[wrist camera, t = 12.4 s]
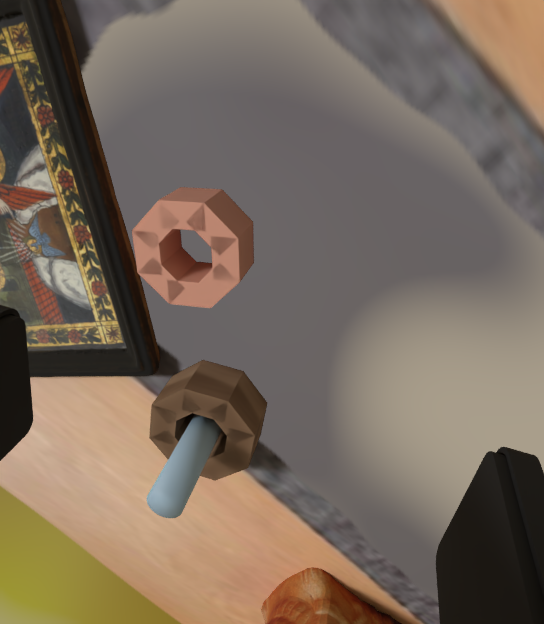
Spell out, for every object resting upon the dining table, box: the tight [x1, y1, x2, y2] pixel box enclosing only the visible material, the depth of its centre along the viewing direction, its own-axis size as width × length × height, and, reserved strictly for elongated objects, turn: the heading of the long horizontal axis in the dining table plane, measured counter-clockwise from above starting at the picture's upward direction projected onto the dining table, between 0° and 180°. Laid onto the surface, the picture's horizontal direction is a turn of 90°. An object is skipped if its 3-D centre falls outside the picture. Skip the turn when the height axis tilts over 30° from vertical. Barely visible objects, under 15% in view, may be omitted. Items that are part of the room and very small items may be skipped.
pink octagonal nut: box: [132, 187, 254, 308], centre depth 38 cm, size 8×8×4 cm
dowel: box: [147, 414, 222, 518], centre depth 42 cm, size 3×3×12 cm
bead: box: [150, 360, 267, 480], centre depth 45 cm, size 9×9×4 cm
